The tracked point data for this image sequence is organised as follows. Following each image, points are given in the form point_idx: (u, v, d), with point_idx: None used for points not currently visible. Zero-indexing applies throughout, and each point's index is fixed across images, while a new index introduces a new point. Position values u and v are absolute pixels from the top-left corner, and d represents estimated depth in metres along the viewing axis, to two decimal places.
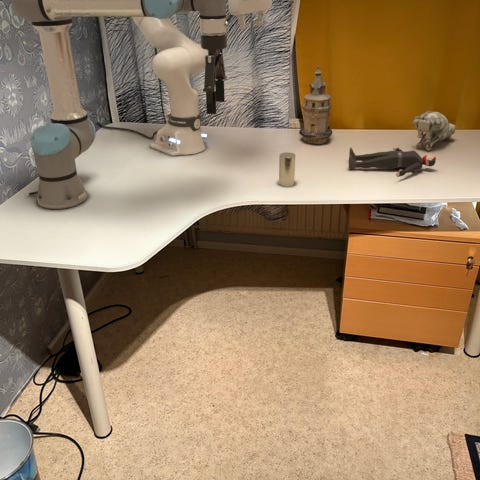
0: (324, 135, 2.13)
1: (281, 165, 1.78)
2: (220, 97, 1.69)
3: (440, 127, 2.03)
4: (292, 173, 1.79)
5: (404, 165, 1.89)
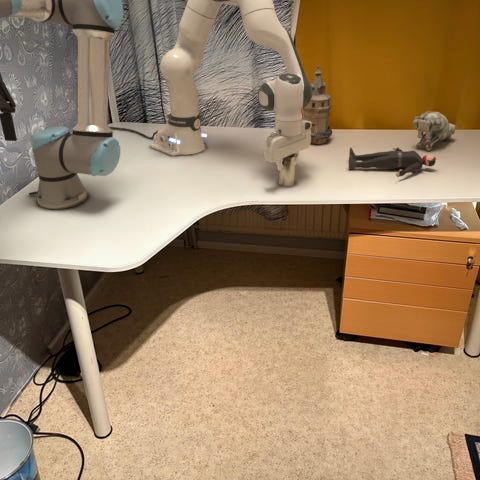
0: (324, 135, 2.13)
1: None
2: (9, 135, 1.29)
3: (440, 127, 2.03)
4: (292, 173, 1.79)
5: (404, 165, 1.89)
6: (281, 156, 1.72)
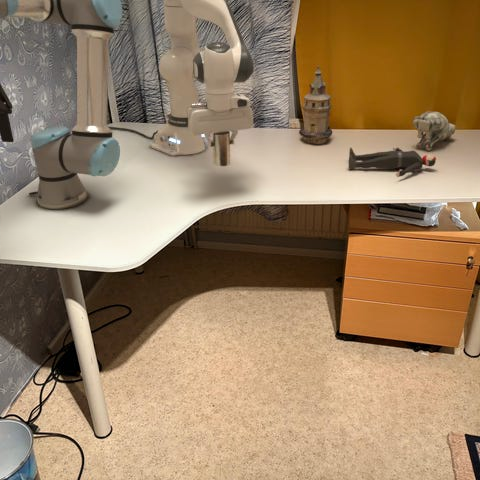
0: (324, 135, 2.13)
1: None
2: (6, 136, 1.29)
3: (440, 127, 2.03)
4: (223, 152, 1.65)
5: (404, 165, 1.89)
6: (205, 131, 1.61)
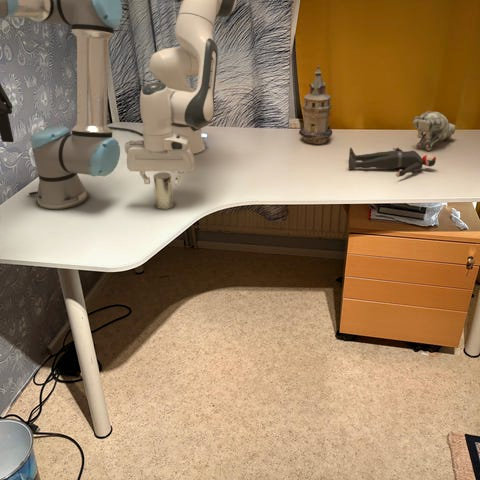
0: (324, 135, 2.13)
1: None
2: (6, 136, 1.29)
3: (440, 127, 2.03)
4: (161, 196, 1.64)
5: (404, 165, 1.89)
6: (142, 168, 1.61)
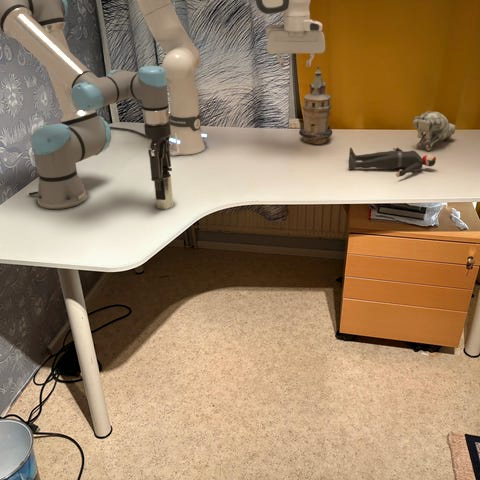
0: (324, 135, 2.13)
1: None
2: None
3: (440, 127, 2.03)
4: None
5: (404, 165, 1.89)
6: (280, 50, 1.85)
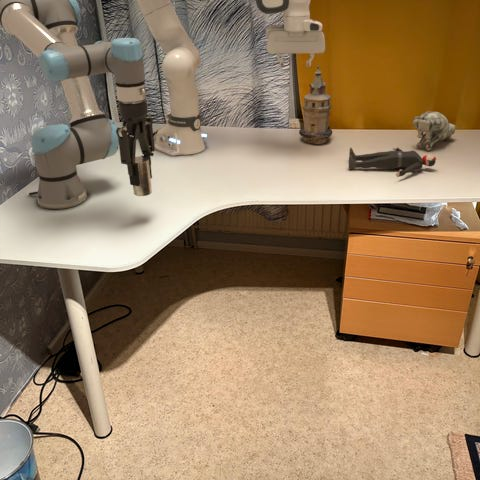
0: (324, 135, 2.13)
1: None
2: None
3: (440, 127, 2.03)
4: None
5: (404, 165, 1.89)
6: (280, 50, 1.85)
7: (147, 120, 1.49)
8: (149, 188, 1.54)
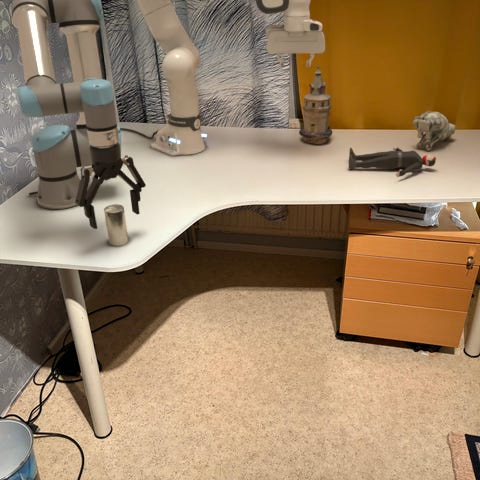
0: (324, 135, 2.13)
1: None
2: (134, 208, 1.48)
3: (440, 127, 2.03)
4: (108, 230, 1.45)
5: (404, 165, 1.89)
6: (280, 50, 1.85)
7: (126, 161, 1.41)
8: (122, 239, 1.46)
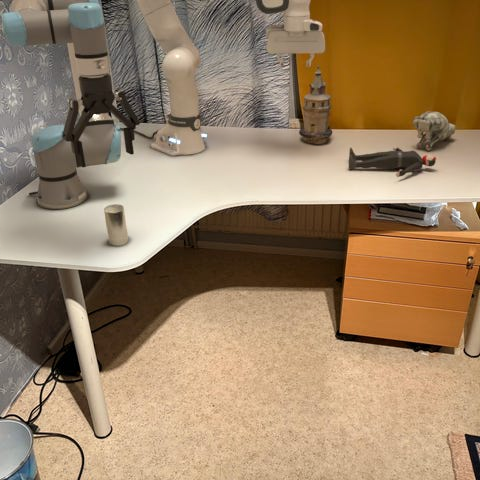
0: (324, 135, 2.13)
1: None
2: (128, 148, 1.40)
3: (440, 127, 2.03)
4: (108, 230, 1.45)
5: (404, 165, 1.89)
6: (280, 50, 1.85)
7: (118, 95, 1.32)
8: (122, 239, 1.46)
